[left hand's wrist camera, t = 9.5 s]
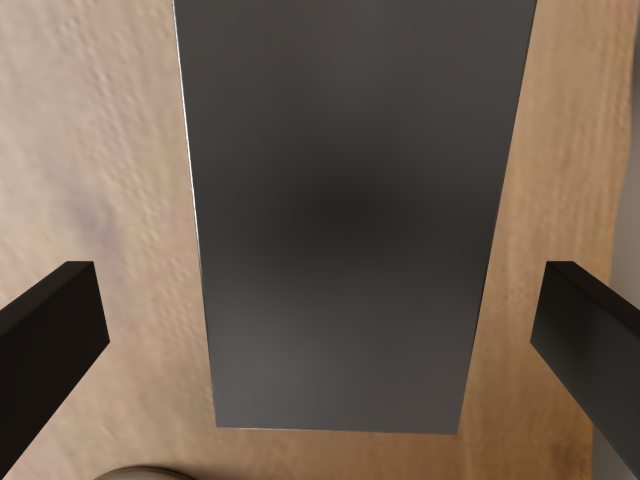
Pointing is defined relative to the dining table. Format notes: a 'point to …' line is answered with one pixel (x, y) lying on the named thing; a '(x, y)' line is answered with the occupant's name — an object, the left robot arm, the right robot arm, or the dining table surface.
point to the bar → (346, 200)
